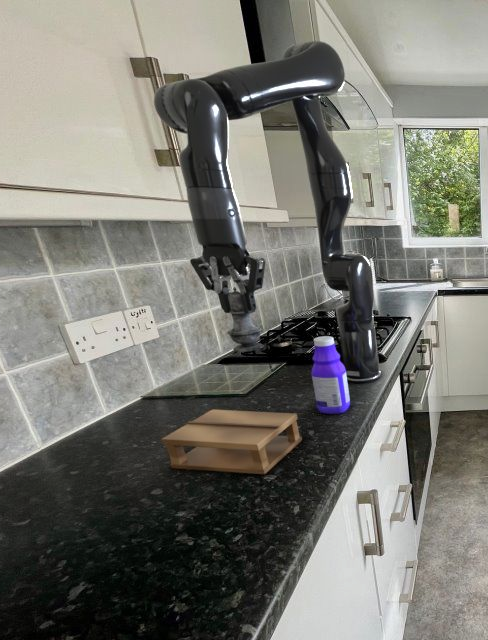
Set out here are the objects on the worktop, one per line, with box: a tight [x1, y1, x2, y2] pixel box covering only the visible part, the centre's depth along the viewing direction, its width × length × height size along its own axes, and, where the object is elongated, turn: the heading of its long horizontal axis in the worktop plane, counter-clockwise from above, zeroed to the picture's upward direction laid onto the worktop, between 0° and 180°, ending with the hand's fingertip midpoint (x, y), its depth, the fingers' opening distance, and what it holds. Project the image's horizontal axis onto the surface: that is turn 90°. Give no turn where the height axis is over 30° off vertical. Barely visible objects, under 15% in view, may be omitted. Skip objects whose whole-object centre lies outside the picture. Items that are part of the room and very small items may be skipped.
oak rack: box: [160, 409, 303, 475], centre depth 77 cm, size 12×18×6 cm, turn 84°
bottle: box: [310, 335, 351, 415], centre depth 92 cm, size 7×6×17 cm
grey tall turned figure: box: [227, 286, 264, 353], centre depth 79 cm, size 6×6×12 cm
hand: (240, 312), depth 79 cm, fingers closed on grey tall turned figure, 3 cm apart
